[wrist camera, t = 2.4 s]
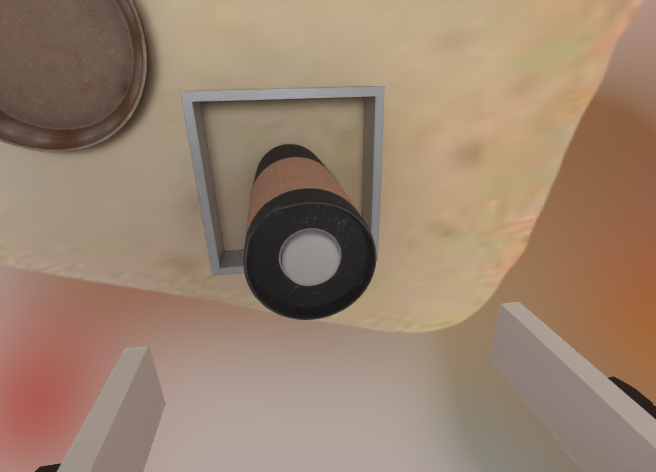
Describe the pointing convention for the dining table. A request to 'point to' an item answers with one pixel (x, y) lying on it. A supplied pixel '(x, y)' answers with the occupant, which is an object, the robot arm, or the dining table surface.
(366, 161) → the grey open square frame
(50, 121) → the plant saucer
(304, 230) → the travel mug
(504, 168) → the dining table surface
